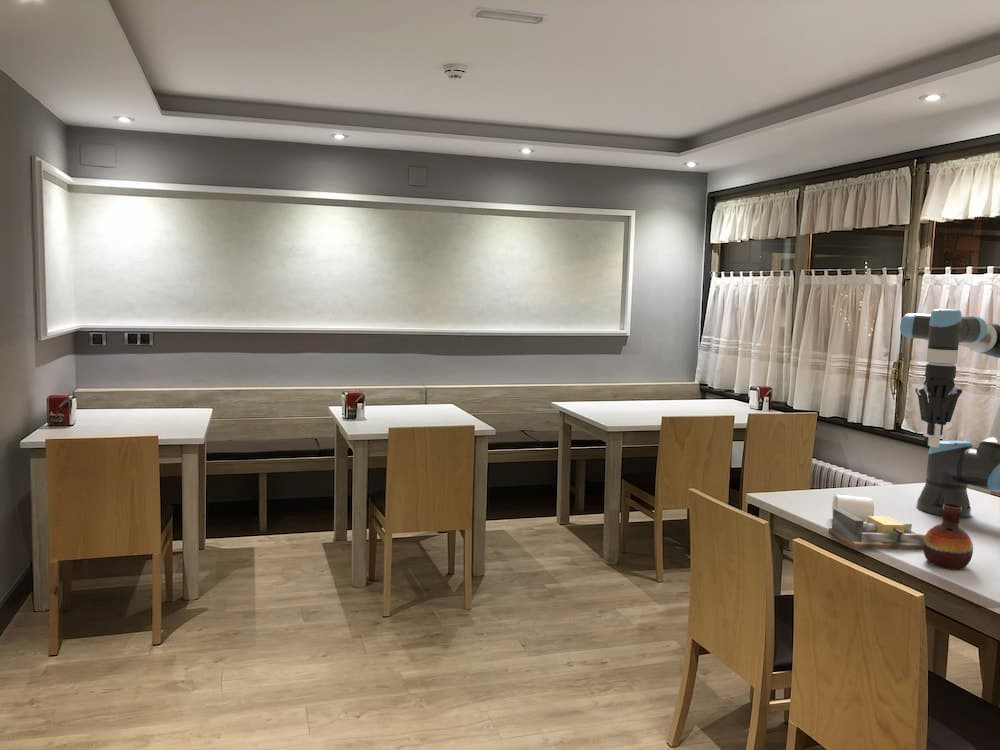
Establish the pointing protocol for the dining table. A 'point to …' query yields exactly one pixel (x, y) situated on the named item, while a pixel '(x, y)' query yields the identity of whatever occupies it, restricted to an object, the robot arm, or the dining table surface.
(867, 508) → the mug
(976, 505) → the dining table surface
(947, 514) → the vase
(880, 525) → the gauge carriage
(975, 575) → the dining table surface
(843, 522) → the bench
